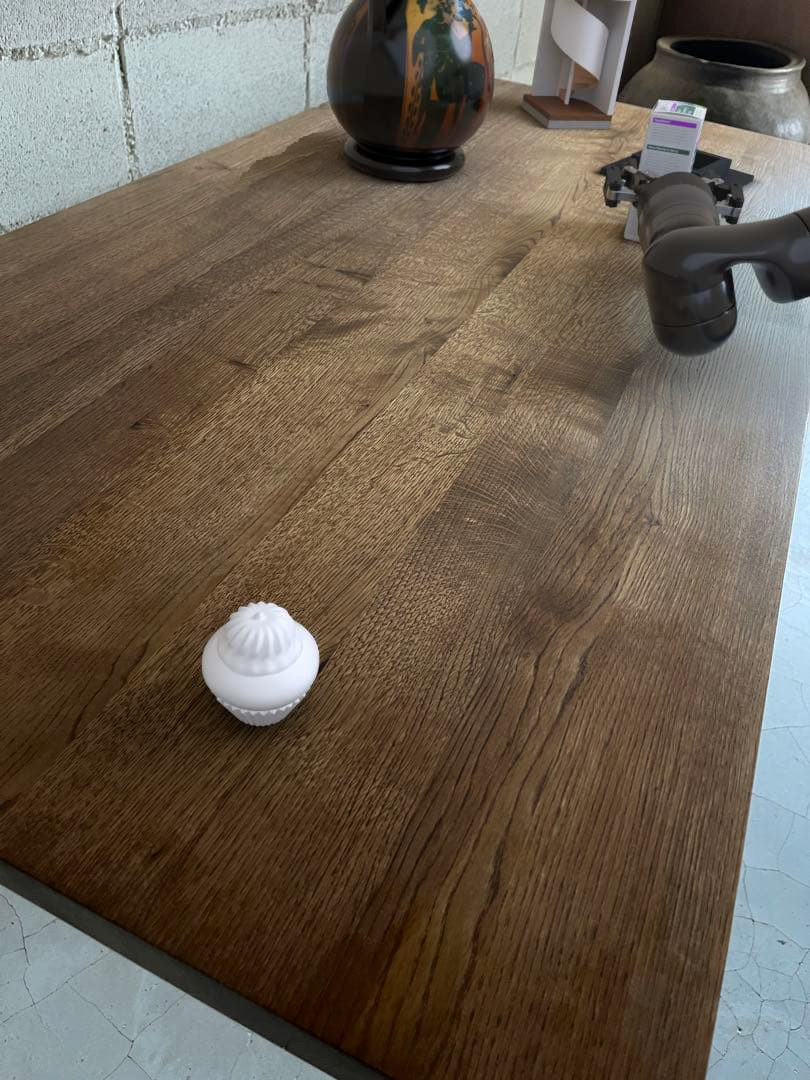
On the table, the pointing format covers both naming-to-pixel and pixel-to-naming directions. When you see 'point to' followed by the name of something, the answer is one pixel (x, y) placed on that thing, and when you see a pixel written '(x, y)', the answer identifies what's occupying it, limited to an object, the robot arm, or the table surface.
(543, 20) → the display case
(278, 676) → the muffin
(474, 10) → the amphora vase
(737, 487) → the table surface
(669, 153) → the syrup box
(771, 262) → the robot arm
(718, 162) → the dock pad
